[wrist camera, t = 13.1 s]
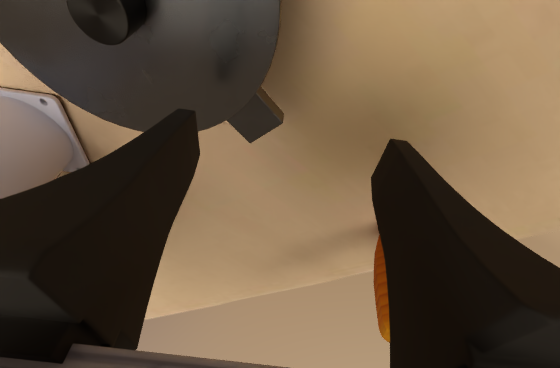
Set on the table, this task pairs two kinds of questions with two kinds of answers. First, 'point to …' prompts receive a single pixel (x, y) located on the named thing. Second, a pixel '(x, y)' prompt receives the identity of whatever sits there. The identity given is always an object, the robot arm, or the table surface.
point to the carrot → (381, 292)
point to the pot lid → (146, 54)
